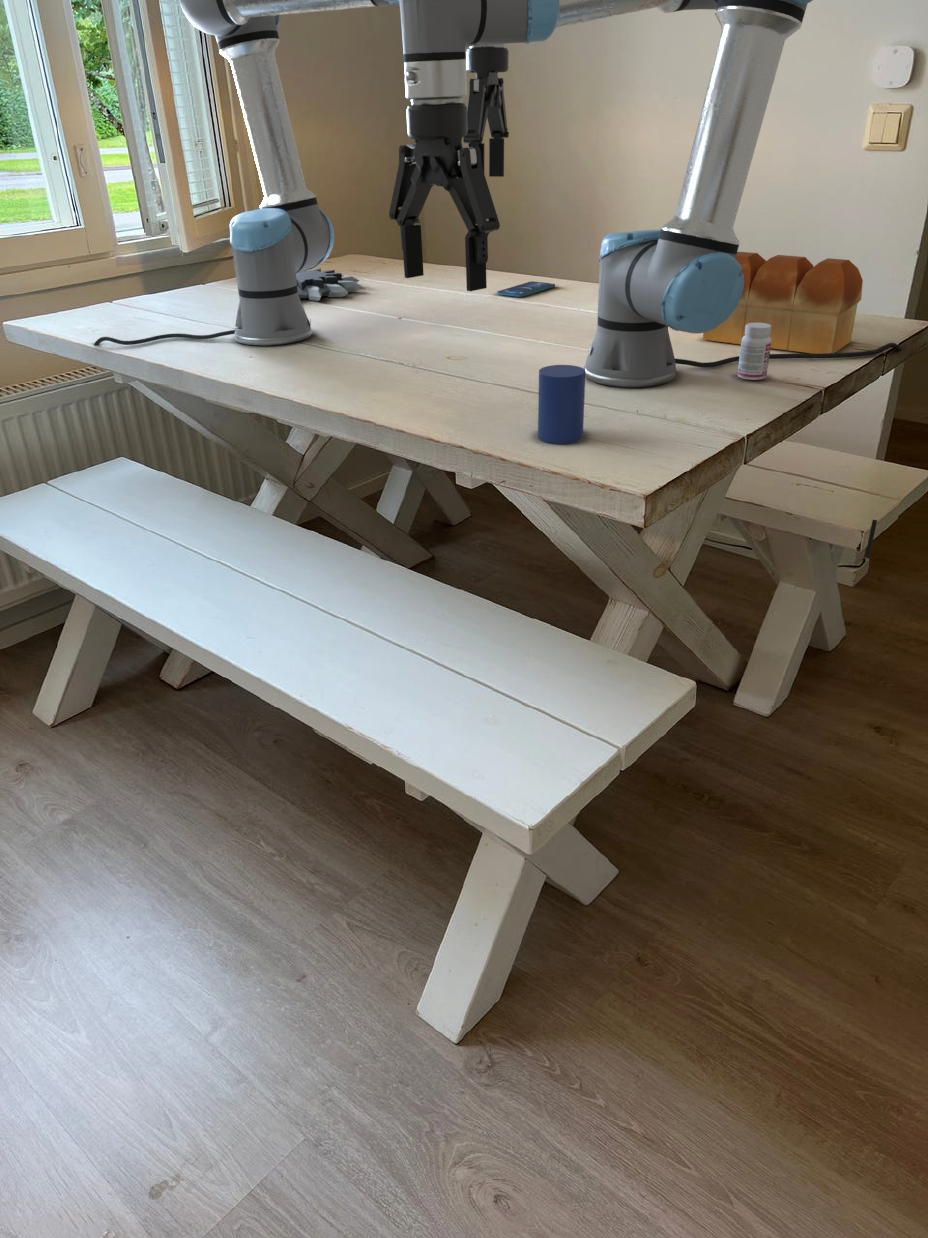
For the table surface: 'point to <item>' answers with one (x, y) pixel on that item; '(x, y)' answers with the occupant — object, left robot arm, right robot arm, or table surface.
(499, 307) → the table surface
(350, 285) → the decorative piece
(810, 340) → the bread
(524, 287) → the smartphone
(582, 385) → the canister
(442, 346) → the table surface
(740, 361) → the pill bottle
